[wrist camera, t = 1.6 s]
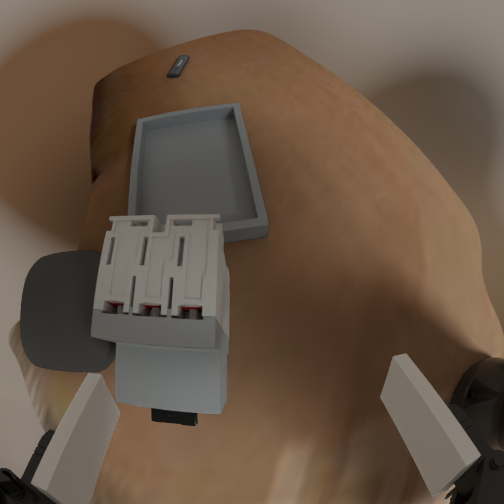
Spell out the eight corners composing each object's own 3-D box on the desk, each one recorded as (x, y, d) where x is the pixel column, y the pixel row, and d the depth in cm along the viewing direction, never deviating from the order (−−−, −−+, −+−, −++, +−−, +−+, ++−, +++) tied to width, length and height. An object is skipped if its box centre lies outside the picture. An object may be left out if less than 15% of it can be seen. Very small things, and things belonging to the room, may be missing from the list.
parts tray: (266, 236, 33) (269, 224, 30) (135, 257, 32) (126, 247, 29) (238, 116, 41) (238, 102, 39) (142, 132, 40) (137, 119, 37)
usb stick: (179, 79, 47) (178, 73, 45) (167, 79, 47) (166, 74, 45) (190, 59, 50) (190, 53, 49) (179, 59, 50) (178, 54, 49)
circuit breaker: (159, 404, 25) (90, 433, 11) (164, 279, 31) (110, 213, 17) (229, 410, 25) (215, 454, 12) (230, 280, 31) (219, 210, 17)
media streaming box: (120, 254, 32) (110, 244, 29) (121, 374, 27) (110, 374, 24) (37, 264, 31) (25, 256, 28) (32, 366, 25) (18, 364, 23)
